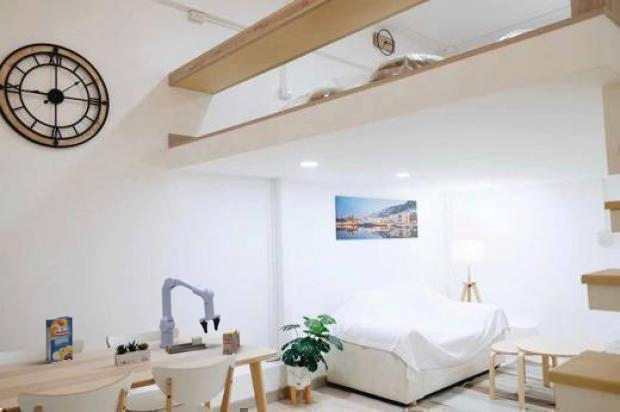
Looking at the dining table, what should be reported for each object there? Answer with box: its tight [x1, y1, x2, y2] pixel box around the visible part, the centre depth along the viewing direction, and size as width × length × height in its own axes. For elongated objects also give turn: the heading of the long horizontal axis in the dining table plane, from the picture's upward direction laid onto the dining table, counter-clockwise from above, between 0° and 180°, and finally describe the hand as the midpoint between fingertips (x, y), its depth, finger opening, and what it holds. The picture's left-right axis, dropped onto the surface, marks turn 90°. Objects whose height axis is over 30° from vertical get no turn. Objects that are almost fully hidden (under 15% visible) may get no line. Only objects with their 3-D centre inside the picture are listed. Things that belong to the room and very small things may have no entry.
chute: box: [164, 342, 207, 355], centre depth 297 cm, size 12×22×4 cm, turn 120°
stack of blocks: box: [222, 328, 241, 355], centre depth 294 cm, size 21×6×12 cm, turn 178°
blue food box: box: [45, 315, 74, 364], centre depth 280 cm, size 12×8×24 cm, turn 138°
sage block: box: [191, 336, 203, 345], centre depth 301 cm, size 5×5×5 cm
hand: (211, 331), depth 302 cm, fingers open, 7 cm apart
